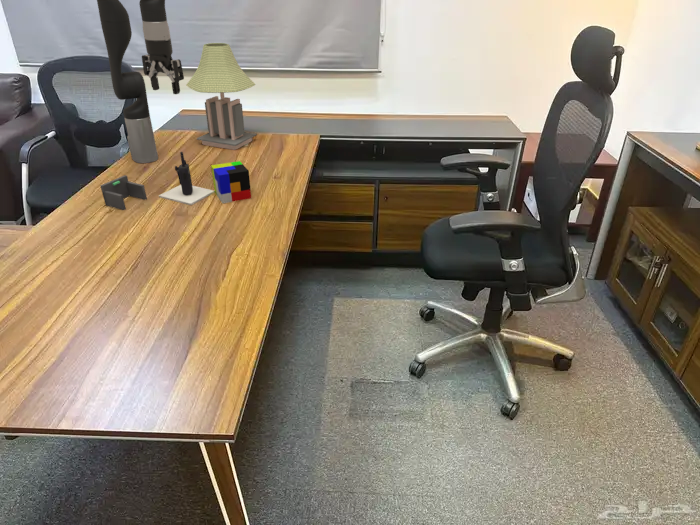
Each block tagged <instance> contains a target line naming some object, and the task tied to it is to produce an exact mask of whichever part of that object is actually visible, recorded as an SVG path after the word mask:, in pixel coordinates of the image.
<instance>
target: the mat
mask: <svg viewBox="0 0 700 525" xmlns="http://www.w3.org/2000/svg"><path fill="white" fill-rule="evenodd" d="M192 187H193V191H192V194H191V195H184V194H183V192H182V187H181V184H179V185H177V186H175V187H173V188H171V189H169V190H167V191H164V192H163V193H161V194H159V195H158V197H159V198H162V199H165V200H169V201H173V202H177V203H181V204H184V205H188V206H193V205H194V204H196V203H198V202H200V201H202V200H204V199H206V198H207V197H209V196H211V195H213V194H215V191H214V190H213V189H209V188H205V187H200V186H196V185H192Z"/></svg>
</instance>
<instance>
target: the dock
mask: <svg viewBox="0 0 700 525" xmlns="http://www.w3.org/2000/svg"><path fill="white" fill-rule="evenodd" d="M99 186H100V188H101V193H102V196H103V200H104V205H105V206H106V207H111V208H113V209H118V210H121V211H126V210H127V206H126V204H125V199H126V198H128V197H131V198H136V199H138V200H143V201H146V200H148V197H147V194H146V188H145V185H144V184H141V183H136V182H134V181H129V177H128V175H122V176H119V177H118V178H115V179H112V180H110V181H108V182H105V183H103V184H100V185H99Z"/></svg>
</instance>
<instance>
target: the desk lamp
mask: <svg viewBox="0 0 700 525" xmlns="http://www.w3.org/2000/svg"><path fill="white" fill-rule="evenodd" d="M200 56H201V57H200V60H199V64H198V66H197V69H196V71H195V72H194V73H193V74H192V75H193V76H191V78H190V79H189V81H188V82H187V83H186V84H185V85H186V86H187V87H188V88H189V89H191V90H192V91H195V92H198V93H208V94H210V93H212V94H220V99H219V96H218V95H215V96H213V97H210V98H206V99H205V102H204V109H205V114H206V115H205V116H206V123H207V130H208V131H207V133H205V134H202V135H201V136H198V137H196V140H197V141H201V143H202V144H201V145H204V146H209V147H215V148H221V149H225V150H233V151H235V150H237V149H239V148H241V147H243V146H245V145H247V144H249V143H251V142H252V141H253V137H256V136H258V135H257V133H255V132H247V131H245V122H244V112H243V104H242V103H241V100H240V98H236V99H233V100H231V97H225V93H237V92H241V91H242V92H243V91H244V90H248V89H250V88H252V87H255V86H256V83H255V82H254V81H253V80H252V79H251V78H250V77H249V76H248V75H247V74H246V72H244V71H243V69H242V68H241V66H240V65H239V63H238V61H237V60H236V58H235V55H234V52H233V50H232V48H231V46H230V44H229V43H224V42H211V43H209V42H207V43H205V44H203V45H202V51H201V55H200Z"/></svg>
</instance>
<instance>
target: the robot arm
mask: <svg viewBox="0 0 700 525" xmlns="http://www.w3.org/2000/svg"><path fill="white" fill-rule="evenodd" d="M96 2H97V8H98V15H99V19H100V25H101V30H102V33H103V38H104V42H105V46H106V51H107V56H108V62H109V69H110V78H111V84H112V85H111V86H112V89H113V92H114V95H115V97H116V98H117V99H118V100H122V101H123V100H124V101H125V100H133V99H135V101H134V102H133V103H132V104H130V105H128V106H127V107H125V108H124V109H123V112H122V113H123V117H124V123H125V128H126V132H127V136H126V137H127V138H126V139H127V143H128V148H129V152H130V156H131V160H133V161H134V163H138V164H149V163H153V162H156V161H157V160H158V159H159V155H158V151H157V150H158V149H157V144H156V140H155V139H156V138H155V134H154V129H153V124H152V119H151V113H150V107H149V103H148V101H149V100H148V94H147V88H146V82H145V79H144V76H148V78H149V79H150V84H151V88H152V90H153V91H158V90H160V84H159V79H158V75H159V73H163V74H165V75H166V77H168V78H169V79H170V81H171V88H172V93H173V95H180V92H181V87H180V81H182V80H184V79H185V77H184V71H183V65H182V60H181V59H173V58H172V55H173V45H172V38H171V32H170V26H169V24H168V18H167V12H166V0H139V3H138V5H139V9H140V16H141V20H142V32H143V38H144V43H145V48H146V53H147V54H143V55H141V61H142V63H141V64H142V68H143V69H142V70H143V73H144V76H143V75H142V73H141V72H139V71H126V72H122V66H123V65H122V64H123V59H124V55H125V53H126V51H127V49H128V47H129V45H130V42H131V39H132V27H131V21H130V16H129V13H128V11H127V9H126V8H125V5H123V3H122V2H121V1H120V0H96Z"/></svg>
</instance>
